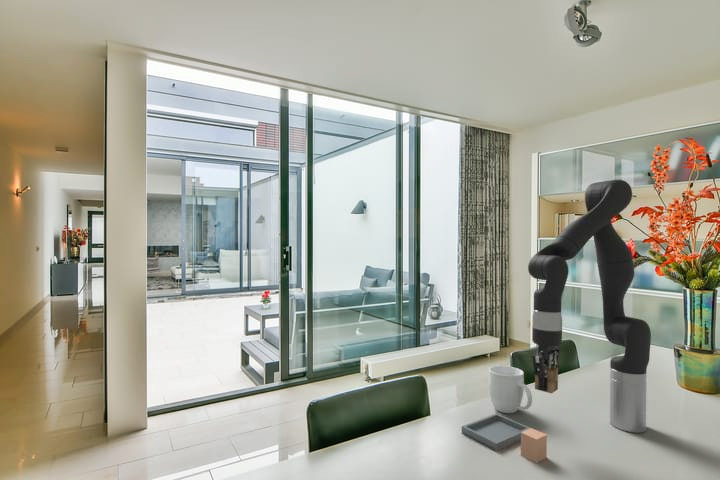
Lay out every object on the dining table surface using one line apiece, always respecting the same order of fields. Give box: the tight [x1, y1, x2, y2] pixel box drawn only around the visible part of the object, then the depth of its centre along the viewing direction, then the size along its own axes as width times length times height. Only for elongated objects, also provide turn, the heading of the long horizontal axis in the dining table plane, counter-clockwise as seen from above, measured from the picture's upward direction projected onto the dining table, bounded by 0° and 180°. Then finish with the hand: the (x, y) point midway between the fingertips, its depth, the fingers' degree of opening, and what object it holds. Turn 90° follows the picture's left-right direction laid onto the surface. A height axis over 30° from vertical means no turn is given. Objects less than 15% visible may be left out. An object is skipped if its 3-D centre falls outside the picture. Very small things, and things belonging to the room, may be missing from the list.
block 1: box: [520, 427, 548, 464], centre depth 105 cm, size 4×4×6 cm
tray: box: [461, 413, 531, 452], centre depth 117 cm, size 16×12×2 cm
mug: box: [488, 365, 533, 415], centre depth 133 cm, size 15×11×13 cm
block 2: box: [534, 365, 559, 395], centre depth 112 cm, size 4×4×6 cm
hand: (546, 387), depth 112 cm, fingers closed on block 2, 4 cm apart
